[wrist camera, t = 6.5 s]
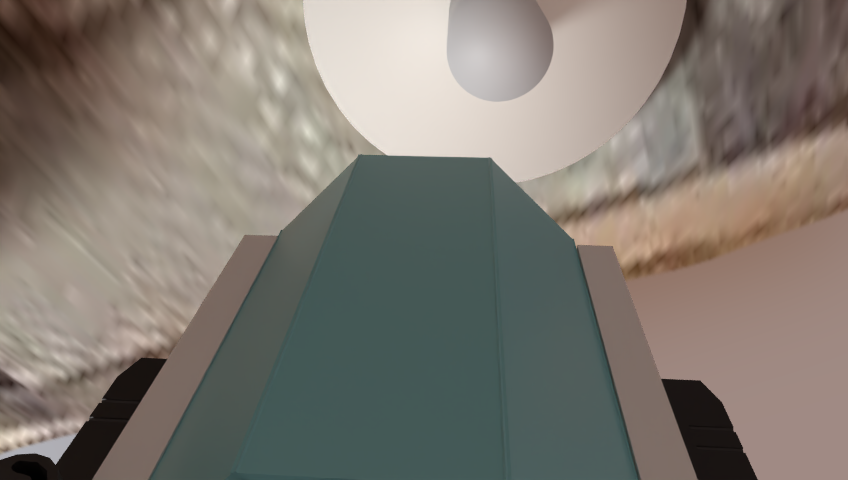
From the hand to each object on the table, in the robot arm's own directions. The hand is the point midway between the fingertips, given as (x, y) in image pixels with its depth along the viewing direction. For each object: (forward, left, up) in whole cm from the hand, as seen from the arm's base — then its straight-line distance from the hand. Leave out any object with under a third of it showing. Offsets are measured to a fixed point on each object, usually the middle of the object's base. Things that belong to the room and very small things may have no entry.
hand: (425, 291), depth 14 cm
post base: (+2, +3, -18) cm, 18 cm away
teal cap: (0, 0, 0) cm, 0 cm away
